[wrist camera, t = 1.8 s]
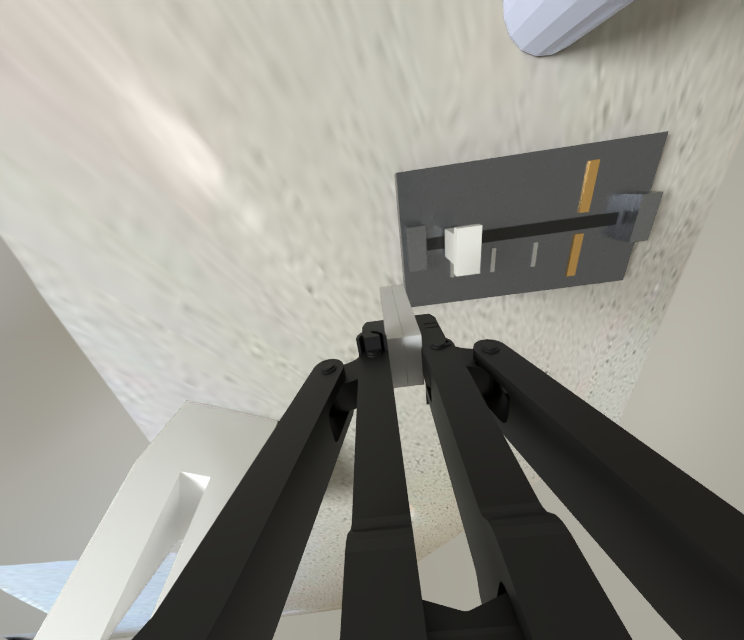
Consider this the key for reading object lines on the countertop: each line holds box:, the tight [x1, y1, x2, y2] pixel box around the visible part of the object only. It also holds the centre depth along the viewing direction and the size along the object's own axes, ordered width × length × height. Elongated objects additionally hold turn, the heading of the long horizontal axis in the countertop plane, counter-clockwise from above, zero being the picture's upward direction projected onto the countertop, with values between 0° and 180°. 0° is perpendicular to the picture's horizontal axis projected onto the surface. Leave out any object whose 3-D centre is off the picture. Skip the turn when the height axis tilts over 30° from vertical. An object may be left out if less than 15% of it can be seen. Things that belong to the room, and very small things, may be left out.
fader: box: [445, 224, 482, 276], centre depth 29 cm, size 5×2×5 cm, turn 8°
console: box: [395, 132, 668, 307], centre depth 31 cm, size 16×28×4 cm, turn 98°
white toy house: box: [34, 400, 277, 640], centre depth 39 cm, size 19×15×25 cm
